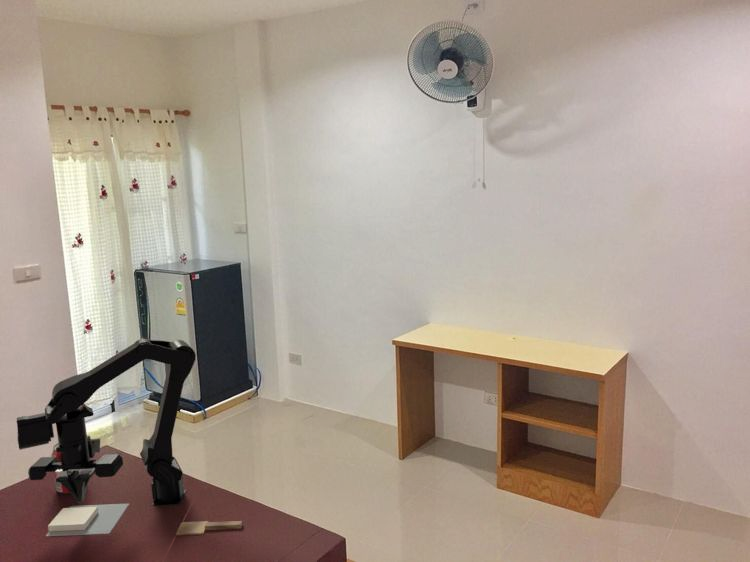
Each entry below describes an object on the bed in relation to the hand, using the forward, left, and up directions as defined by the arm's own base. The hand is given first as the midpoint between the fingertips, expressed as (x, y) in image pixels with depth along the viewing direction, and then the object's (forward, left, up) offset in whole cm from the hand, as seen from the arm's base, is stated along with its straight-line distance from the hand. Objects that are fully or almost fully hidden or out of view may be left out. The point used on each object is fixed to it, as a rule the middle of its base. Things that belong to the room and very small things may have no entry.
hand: (81, 501), depth 136 cm
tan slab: (-29, +4, -6) cm, 30 cm away
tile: (-2, 0, -4) cm, 5 cm away
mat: (-1, -1, -6) cm, 6 cm away
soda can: (+10, -16, -6) cm, 20 cm away
